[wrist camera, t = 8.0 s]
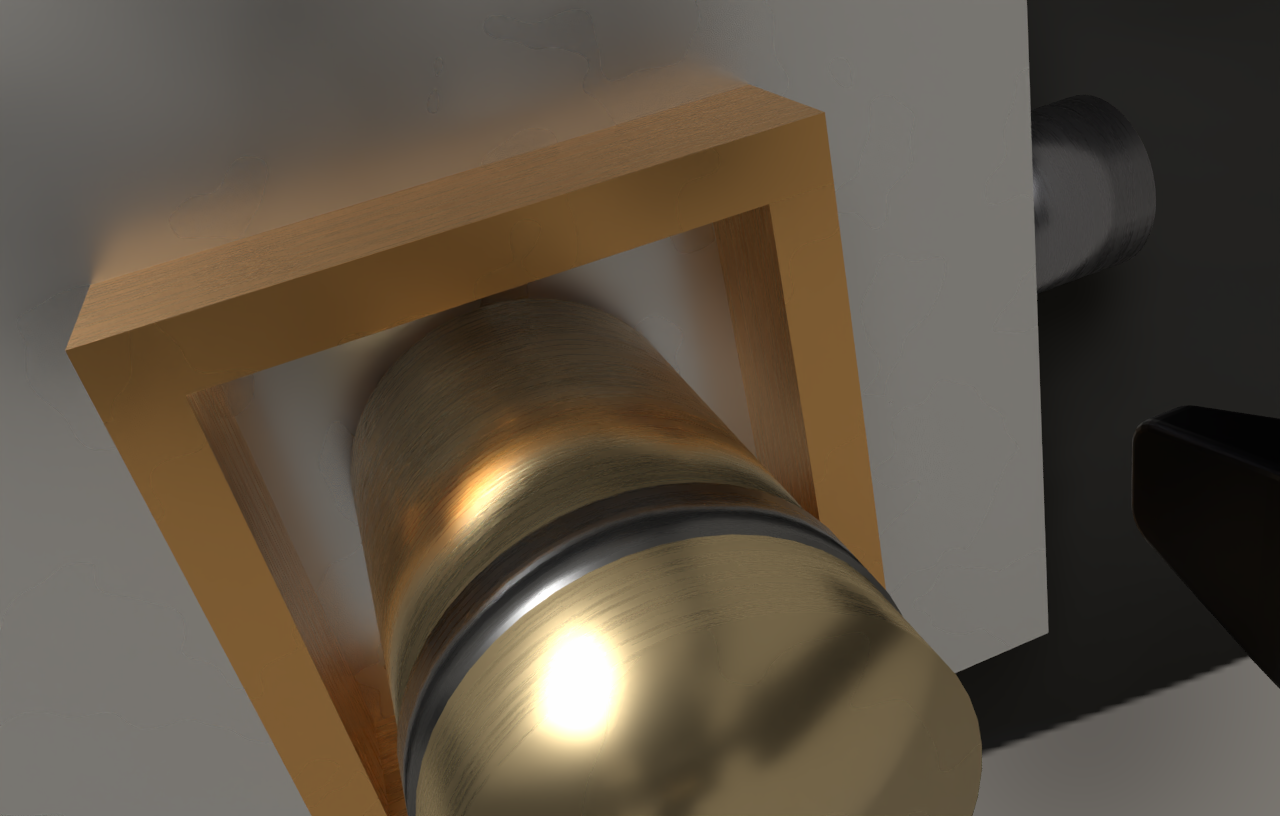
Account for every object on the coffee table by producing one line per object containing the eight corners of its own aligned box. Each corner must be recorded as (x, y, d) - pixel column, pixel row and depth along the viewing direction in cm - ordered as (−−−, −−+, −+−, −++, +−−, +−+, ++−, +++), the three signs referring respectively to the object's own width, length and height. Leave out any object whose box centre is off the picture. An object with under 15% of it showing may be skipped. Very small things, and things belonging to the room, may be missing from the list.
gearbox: (985, -264, 17) (1375, -349, 11) (1019, 452, 24) (1276, 636, 18) (-285, 52, 14) (-680, 167, 8) (167, 789, 21) (139, 1154, 15)
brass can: (651, 246, 14) (969, 514, 8) (715, 538, 16) (1000, 917, 10) (290, 365, 13) (336, 770, 7) (412, 656, 15) (526, 1150, 9)
